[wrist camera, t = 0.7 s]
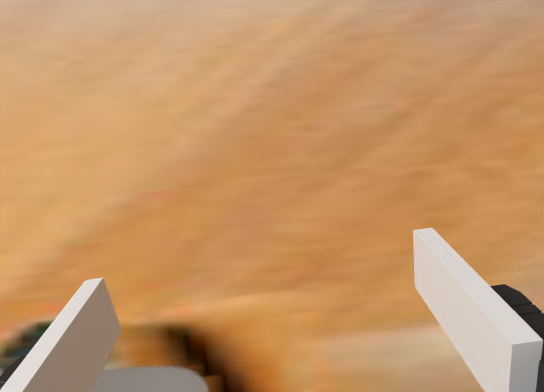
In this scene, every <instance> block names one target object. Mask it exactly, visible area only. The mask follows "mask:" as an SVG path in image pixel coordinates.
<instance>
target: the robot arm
mask: <svg viewBox="0 0 544 392" xmlns="http://www.w3.org/2000/svg"><path fill="white" fill-rule="evenodd" d="M413 241H414V274H415V288H416V289H417V291H418V292H419V294H420V295H421V297H422V298H423V300H424V301H425V303H426V304H427V306H428V307H429V309H430V310H431V312H432V313H433V315H434V316H435V318H436V319H437V321H438V322H439V324H440V325H441V327H442V328H443V330H444V331H445V333H446V334H447V336H448V337H449V339H450V340H451V342H452V343H453V345H454V346H455V348H456V349H457V351H458V352H459V354H460V355H461V357H462V358H463V360H464V361H465V363H466V364H467V366H468V367H469V369H470V370H471V372H472V373H473V375H474V376H475V378H476V379H477V381H478V382H479V384H480V385H481V387H482V388H483V390H484V391H485V392H544V313H541V310H539V309H538V308H537V307H536V306H535V305H532V302H531V301H530V300H528V299H527V298H526V297H525V296H524V295H523V294H522V293H521V292H519V291H517V290H515V289H513V288H511V287H509V286H507V285H505V284H503V285H496V286H489V285H488V284H487V283H486V282H485V281H484V280H483V279H482V278H481V277H480V276H479V275H478V274H477V273H476V272H475V271H474V270H473V269H472V268H471V267H470V266H469V265H468V264H467V263H466V262H465V261H464V260H463V259H462V258H461V257H460V256H459V255H458V254H457V253H456V252H455V251H454V250H453V249H452V248H451V247H450V246H449V245H448V243H447V242H446V241H445V240H444V239H443V238H442V237H441V236H440V235H439V234H438V233H437V232H436V231H435V230H434V229H433V228H425V229H419V230H413ZM121 331H122V329H121V326H120V323H119V320H118V318H117V315H116V312H115V309H114V306H113V304H112V301H111V298H110V295H109V293H108V290H107V287H106V284H105V282H104V279H103V278H97V279H91V280H85V282H84V283H83V284H82V285H81V287H80V288H79V289H78V291H77V292H76V293H75V294H74V296H73V297H72V298H71V300H70V301H69V302H68V303H67V305H66V306H65V307H64V309H63V310H62V311H61V312H60V314H59V315H58V316H57V318H56V319H55V320H54V321H53V323H52V324H51V325H50V327H49V328H48V329H47V330H46V332H45V333H44V334H43V336H42V337H41V338H40V339H39V341H38V342H37V343H36V345H35V346H34V347H33V348H32V350H31V351H30V352H29V354H28V355H27V356H21V357H20V358H19V359H18V360H16V361H15V362H14V363H13V364H12V365H10V366H9V367H8V368H7V369H6V370H5V371H4V372H3V374H2V375H1V376H0V392H91V391H92V389H93V387H94V384H95V383H96V381H97V379H98V377H99V375H100V373H101V371H102V369H103V367H104V365H105V363H106V361H107V359H108V357H109V355H110V353H111V351H112V349H113V347H114V345H115V343H116V341H117V339H118V337H119V335H120V333H121Z"/></svg>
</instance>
